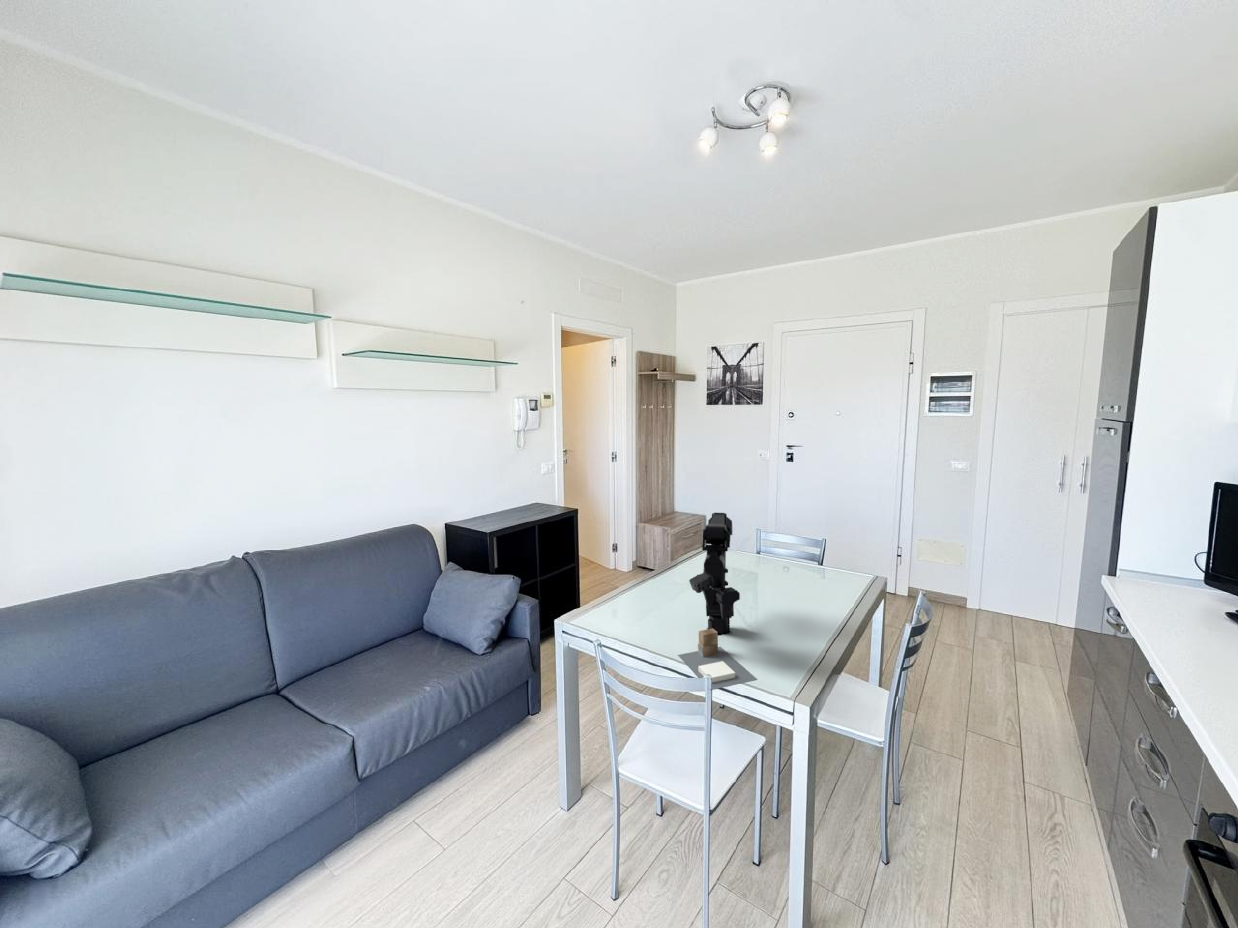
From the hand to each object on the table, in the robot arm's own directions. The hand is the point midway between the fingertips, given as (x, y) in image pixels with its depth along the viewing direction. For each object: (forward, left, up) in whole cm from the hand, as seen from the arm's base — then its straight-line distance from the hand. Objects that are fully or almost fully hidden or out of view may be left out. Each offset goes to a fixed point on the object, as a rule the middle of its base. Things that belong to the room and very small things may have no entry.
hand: (716, 613), depth 157 cm
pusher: (+4, +2, -12) cm, 12 cm away
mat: (+6, +10, -12) cm, 17 cm away
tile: (+4, +14, -11) cm, 18 cm away
